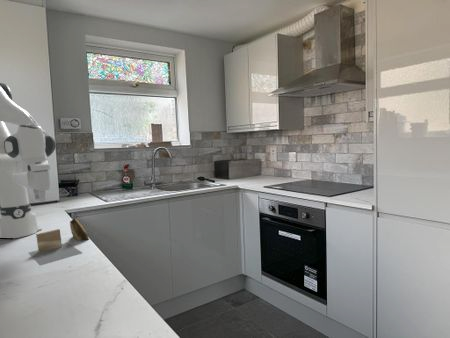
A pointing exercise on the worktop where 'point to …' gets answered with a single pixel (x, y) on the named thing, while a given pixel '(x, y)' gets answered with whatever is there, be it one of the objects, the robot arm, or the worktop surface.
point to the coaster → (49, 240)
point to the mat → (55, 254)
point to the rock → (78, 230)
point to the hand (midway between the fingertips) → (40, 200)
